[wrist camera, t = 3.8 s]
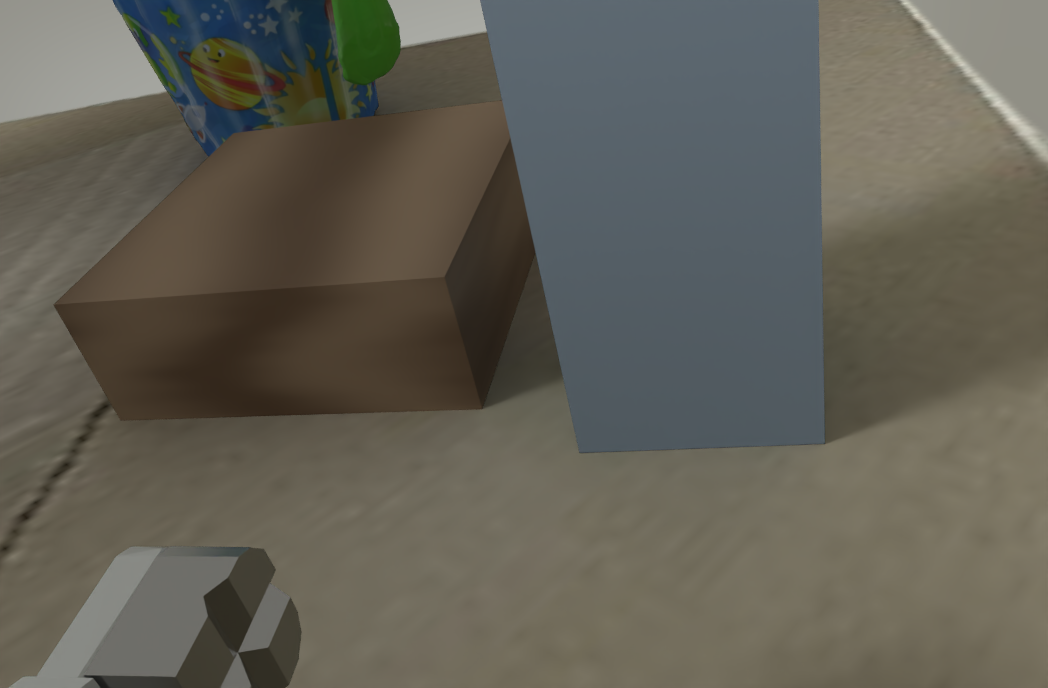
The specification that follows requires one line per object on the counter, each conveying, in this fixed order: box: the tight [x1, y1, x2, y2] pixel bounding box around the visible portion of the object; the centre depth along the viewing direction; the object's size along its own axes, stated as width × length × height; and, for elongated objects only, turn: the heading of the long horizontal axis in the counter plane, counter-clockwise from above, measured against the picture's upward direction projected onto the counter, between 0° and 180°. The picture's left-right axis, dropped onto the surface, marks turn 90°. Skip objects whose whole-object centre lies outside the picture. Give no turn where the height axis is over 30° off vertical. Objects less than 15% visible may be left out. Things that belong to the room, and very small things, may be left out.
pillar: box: [480, 0, 825, 453], centre depth 18 cm, size 5×5×11 cm
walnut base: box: [54, 100, 535, 420], centre depth 26 cm, size 10×10×4 cm
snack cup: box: [113, 0, 401, 156], centre depth 36 cm, size 16×10×10 cm
